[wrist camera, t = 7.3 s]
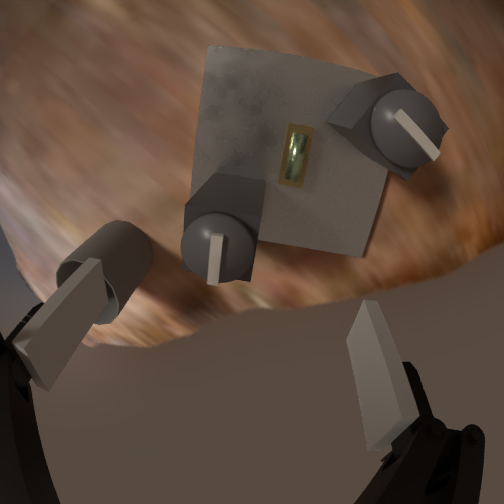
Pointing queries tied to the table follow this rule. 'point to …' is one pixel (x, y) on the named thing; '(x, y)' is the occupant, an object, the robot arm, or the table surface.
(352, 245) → the base plate
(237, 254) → the knob
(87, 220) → the table surface
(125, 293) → the cup
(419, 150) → the knob
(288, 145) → the bubble vial
